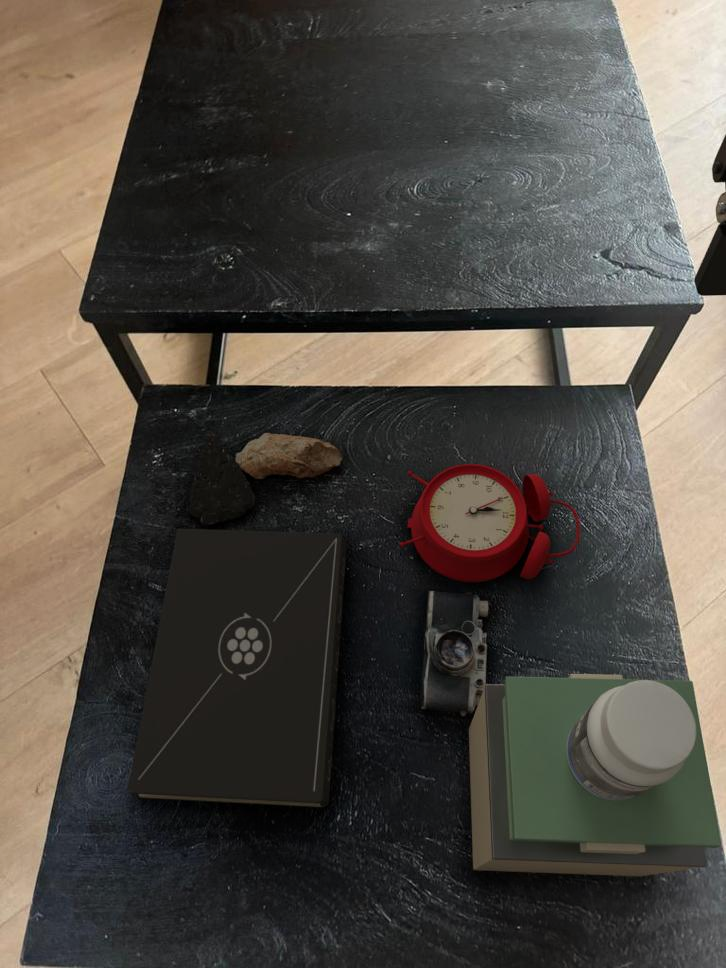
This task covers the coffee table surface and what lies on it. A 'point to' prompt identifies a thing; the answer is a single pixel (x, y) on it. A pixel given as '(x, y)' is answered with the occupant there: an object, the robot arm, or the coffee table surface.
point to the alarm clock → (481, 523)
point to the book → (244, 670)
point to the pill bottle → (631, 740)
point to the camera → (454, 652)
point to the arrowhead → (218, 486)
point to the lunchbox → (572, 808)
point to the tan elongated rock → (287, 456)
